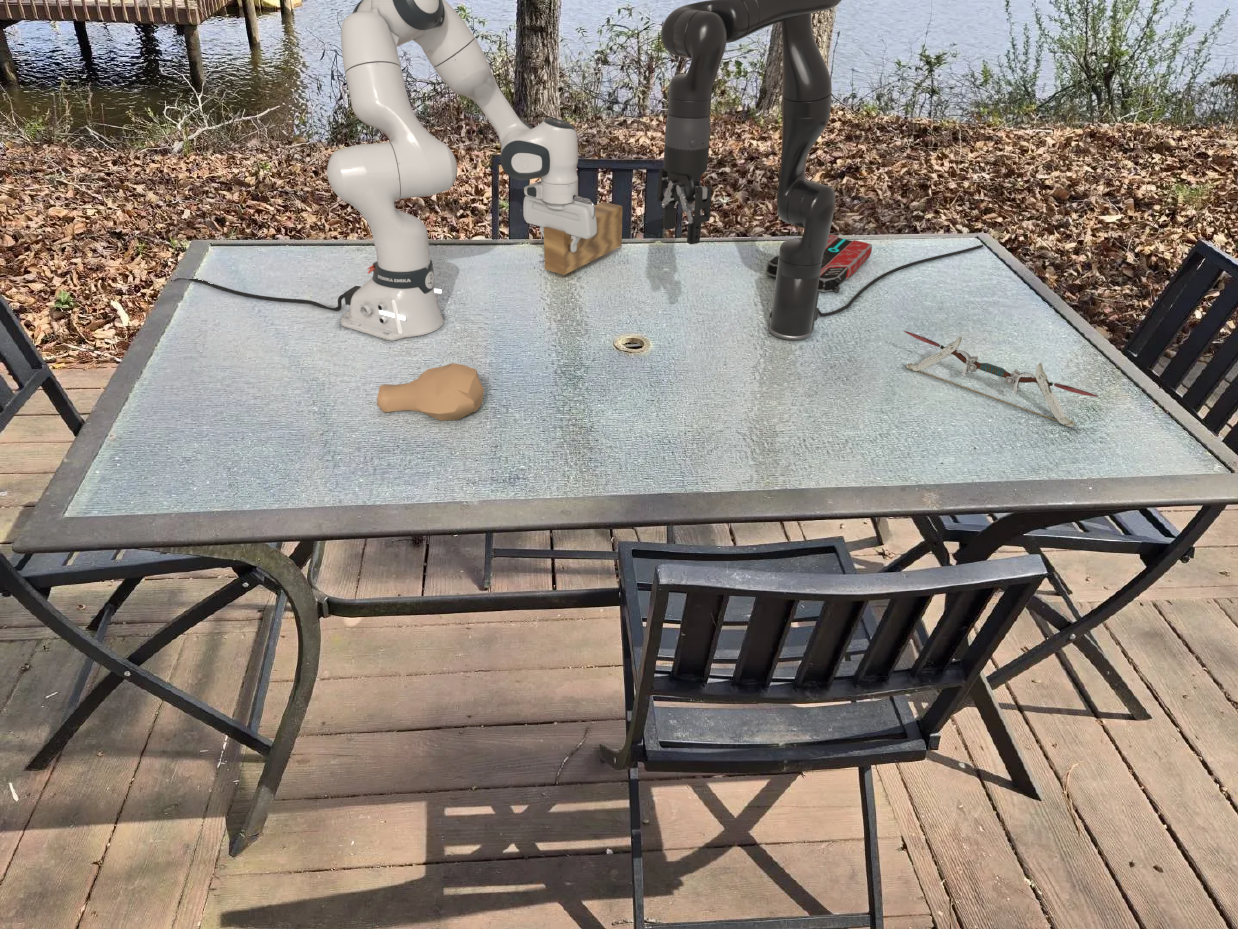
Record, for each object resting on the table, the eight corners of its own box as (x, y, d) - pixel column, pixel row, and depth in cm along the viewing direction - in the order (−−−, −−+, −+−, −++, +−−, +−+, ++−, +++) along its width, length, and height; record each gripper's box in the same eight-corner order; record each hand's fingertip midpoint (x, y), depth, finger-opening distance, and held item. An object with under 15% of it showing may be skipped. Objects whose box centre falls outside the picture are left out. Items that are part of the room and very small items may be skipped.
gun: (763, 262, 220) (837, 280, 212) (808, 226, 242) (876, 242, 234) (761, 279, 222) (834, 298, 214) (805, 242, 244) (873, 258, 236)
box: (564, 274, 216) (563, 232, 210) (544, 269, 219) (543, 227, 213) (621, 245, 234) (622, 206, 228) (603, 241, 237) (603, 201, 231)
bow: (1087, 429, 164) (1105, 382, 158) (1083, 433, 163) (1101, 385, 157) (899, 362, 185) (909, 318, 180) (895, 365, 184) (904, 321, 179)
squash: (485, 427, 160) (474, 388, 154) (378, 435, 161) (363, 397, 155) (491, 389, 168) (481, 351, 162) (390, 398, 169) (376, 360, 163)
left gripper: (602, 197, 206) (601, 253, 214) (535, 180, 215) (536, 235, 223) (586, 203, 202) (586, 261, 209) (518, 186, 211) (520, 242, 219)
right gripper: (728, 150, 144) (719, 245, 153) (684, 130, 154) (679, 221, 163) (689, 154, 141) (682, 251, 150) (647, 134, 152) (643, 226, 161)
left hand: (560, 247), depth 216 cm, fingers closed on box, 6 cm apart
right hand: (680, 235), depth 157 cm, fingers open, 8 cm apart
